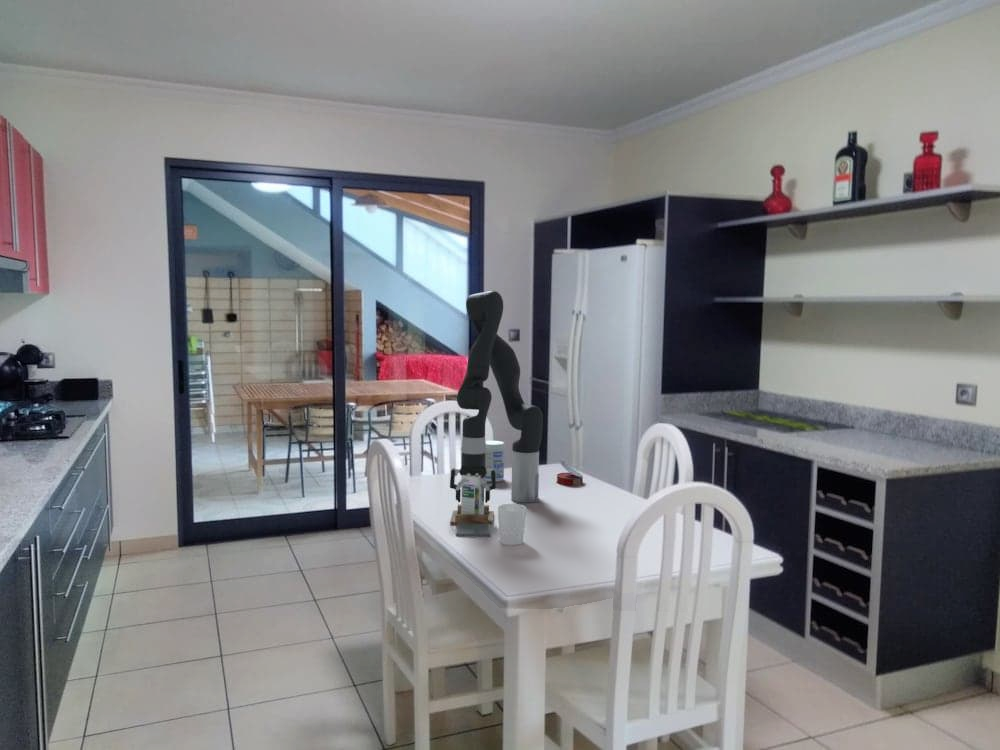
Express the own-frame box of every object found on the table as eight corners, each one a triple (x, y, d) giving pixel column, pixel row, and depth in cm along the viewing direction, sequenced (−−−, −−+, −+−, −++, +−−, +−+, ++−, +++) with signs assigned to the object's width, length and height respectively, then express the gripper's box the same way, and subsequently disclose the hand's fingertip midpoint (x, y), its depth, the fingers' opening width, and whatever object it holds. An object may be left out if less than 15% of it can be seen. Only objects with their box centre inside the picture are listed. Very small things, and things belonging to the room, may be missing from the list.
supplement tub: (497, 484, 274) (498, 445, 273) (474, 481, 278) (475, 443, 276) (507, 478, 283) (508, 441, 281) (485, 476, 287) (486, 439, 285)
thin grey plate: (491, 526, 220) (491, 523, 220) (490, 536, 210) (490, 534, 210) (458, 525, 220) (458, 523, 220) (456, 536, 211) (456, 533, 210)
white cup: (498, 537, 211) (498, 503, 210) (525, 537, 210) (526, 504, 209) (497, 545, 203) (497, 510, 202) (525, 546, 202) (526, 511, 202)
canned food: (565, 491, 284) (572, 467, 287) (585, 493, 276) (591, 469, 279) (547, 481, 277) (554, 457, 280) (566, 484, 269) (573, 458, 272)
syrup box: (460, 520, 226) (460, 475, 224) (467, 516, 231) (468, 471, 230) (477, 523, 224) (478, 476, 222) (484, 518, 229) (485, 472, 228)
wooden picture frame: (493, 514, 234) (493, 505, 233) (492, 525, 221) (493, 516, 221) (453, 513, 234) (453, 504, 233) (450, 524, 221) (450, 515, 221)
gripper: (496, 448, 229) (495, 499, 231) (451, 447, 229) (450, 498, 231) (496, 453, 222) (495, 505, 223) (449, 452, 222) (449, 504, 223)
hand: (472, 501), depth 227 cm, fingers open, 8 cm apart
